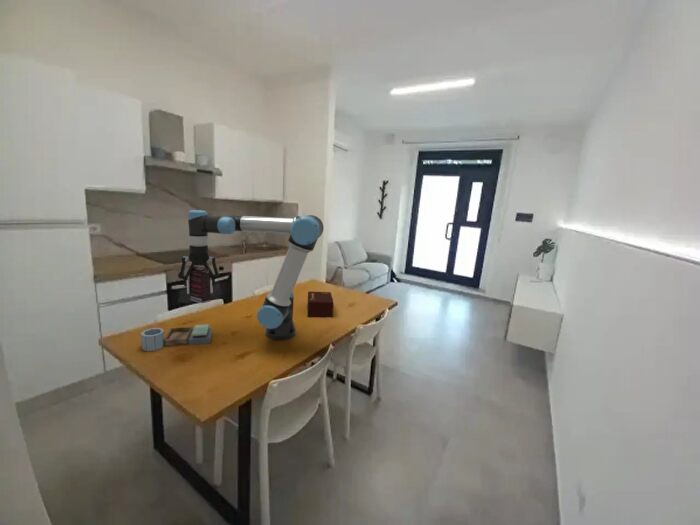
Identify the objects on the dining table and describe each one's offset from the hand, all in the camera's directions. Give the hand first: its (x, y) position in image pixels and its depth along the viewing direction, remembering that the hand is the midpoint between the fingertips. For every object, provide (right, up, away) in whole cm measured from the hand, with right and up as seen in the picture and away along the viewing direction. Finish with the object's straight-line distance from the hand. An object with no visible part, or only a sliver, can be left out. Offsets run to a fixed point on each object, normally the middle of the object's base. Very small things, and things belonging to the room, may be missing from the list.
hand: (200, 292), depth 139 cm
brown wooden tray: (-11, -22, +2) cm, 25 cm away
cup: (-18, -23, -6) cm, 30 cm away
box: (+51, -17, +52) cm, 75 cm away
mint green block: (-2, -21, +4) cm, 22 cm away
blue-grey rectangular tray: (-2, -22, +5) cm, 23 cm away
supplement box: (0, -4, +1) cm, 4 cm away
